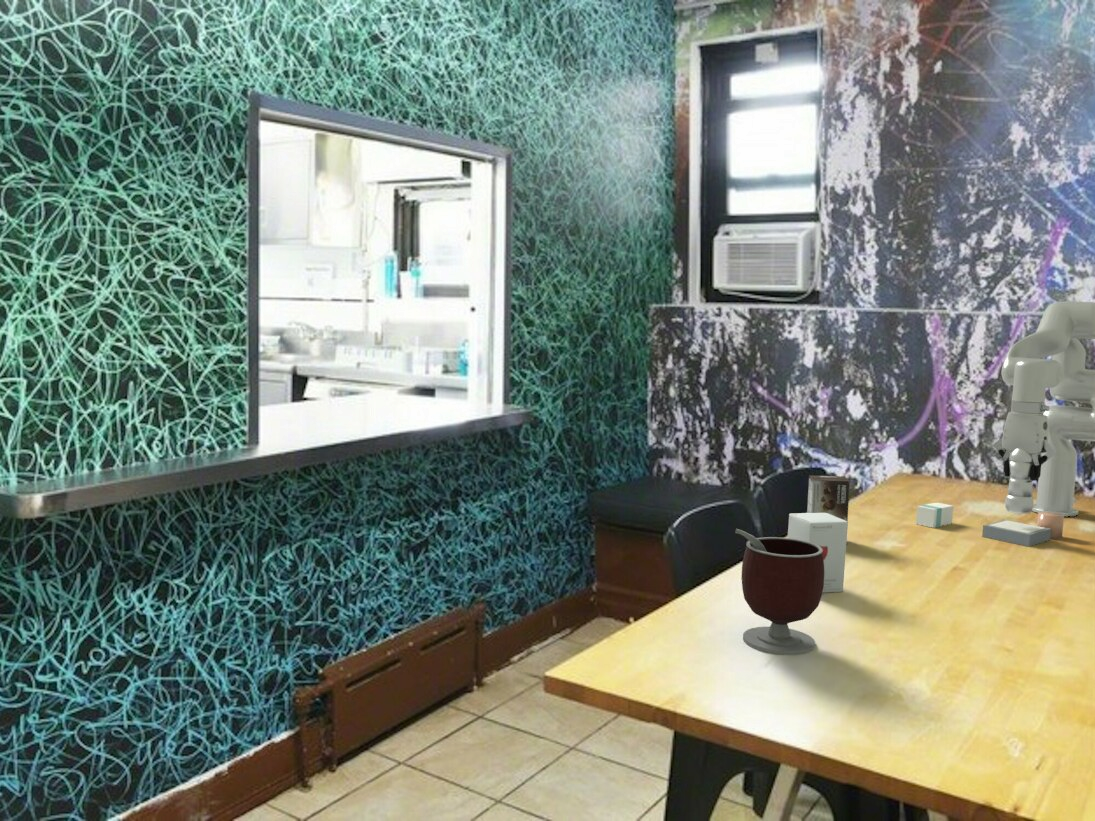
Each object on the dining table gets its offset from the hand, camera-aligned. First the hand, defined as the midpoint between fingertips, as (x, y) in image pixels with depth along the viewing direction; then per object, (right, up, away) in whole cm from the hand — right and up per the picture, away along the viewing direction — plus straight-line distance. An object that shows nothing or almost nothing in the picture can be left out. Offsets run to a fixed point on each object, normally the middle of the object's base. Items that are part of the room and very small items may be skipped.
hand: (1021, 477), depth 250 cm
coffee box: (-52, -16, -7) cm, 55 cm away
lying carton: (-16, -14, +16) cm, 27 cm away
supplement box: (-66, -20, -47) cm, 84 cm away
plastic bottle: (0, -10, +1) cm, 10 cm away
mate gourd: (-83, -23, -81) cm, 118 cm away
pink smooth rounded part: (+10, -16, +5) cm, 19 cm away
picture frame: (0, -16, +2) cm, 16 cm away
